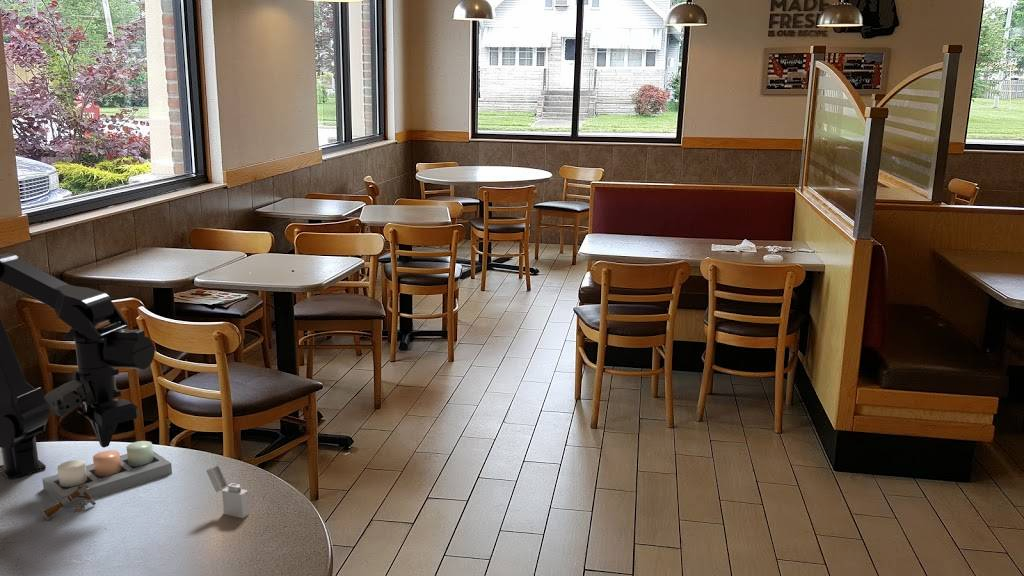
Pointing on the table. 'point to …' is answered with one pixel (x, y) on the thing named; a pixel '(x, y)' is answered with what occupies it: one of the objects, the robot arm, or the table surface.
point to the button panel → (110, 479)
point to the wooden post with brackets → (67, 499)
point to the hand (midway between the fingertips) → (104, 446)
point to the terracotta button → (107, 463)
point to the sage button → (140, 453)
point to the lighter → (229, 493)
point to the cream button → (72, 473)
